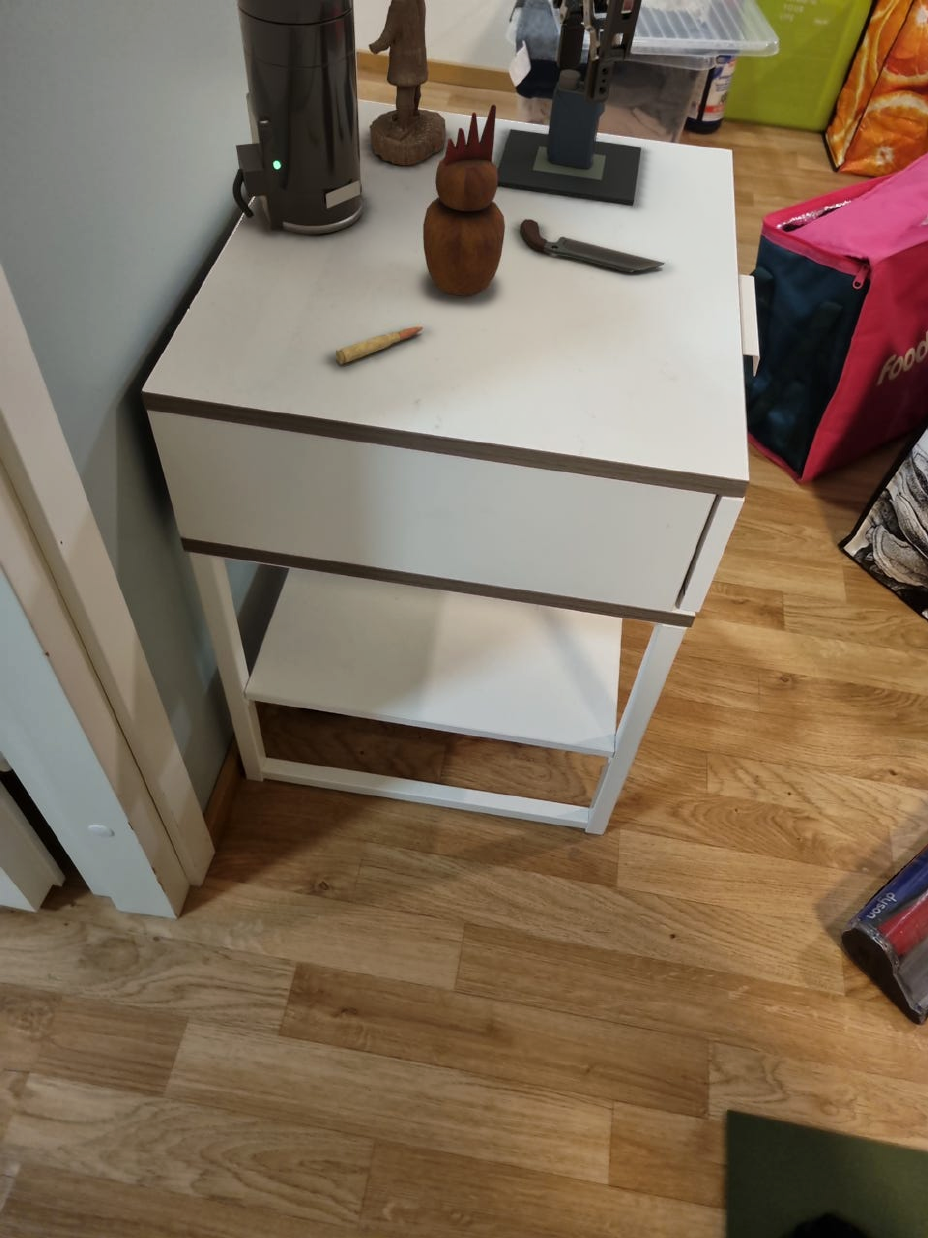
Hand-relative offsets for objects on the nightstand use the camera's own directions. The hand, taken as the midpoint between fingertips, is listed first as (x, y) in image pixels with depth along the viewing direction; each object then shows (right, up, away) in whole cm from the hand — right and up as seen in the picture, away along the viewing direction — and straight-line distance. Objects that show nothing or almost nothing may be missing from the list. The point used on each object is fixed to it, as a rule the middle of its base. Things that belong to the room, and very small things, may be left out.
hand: (581, 83), depth 87 cm
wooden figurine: (-11, -22, -6) cm, 25 cm away
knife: (0, -17, -3) cm, 18 cm away
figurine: (-17, -2, +8) cm, 19 cm away
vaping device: (0, -4, +6) cm, 8 cm away
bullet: (-18, -28, -12) cm, 36 cm away
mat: (0, -5, +7) cm, 8 cm away
